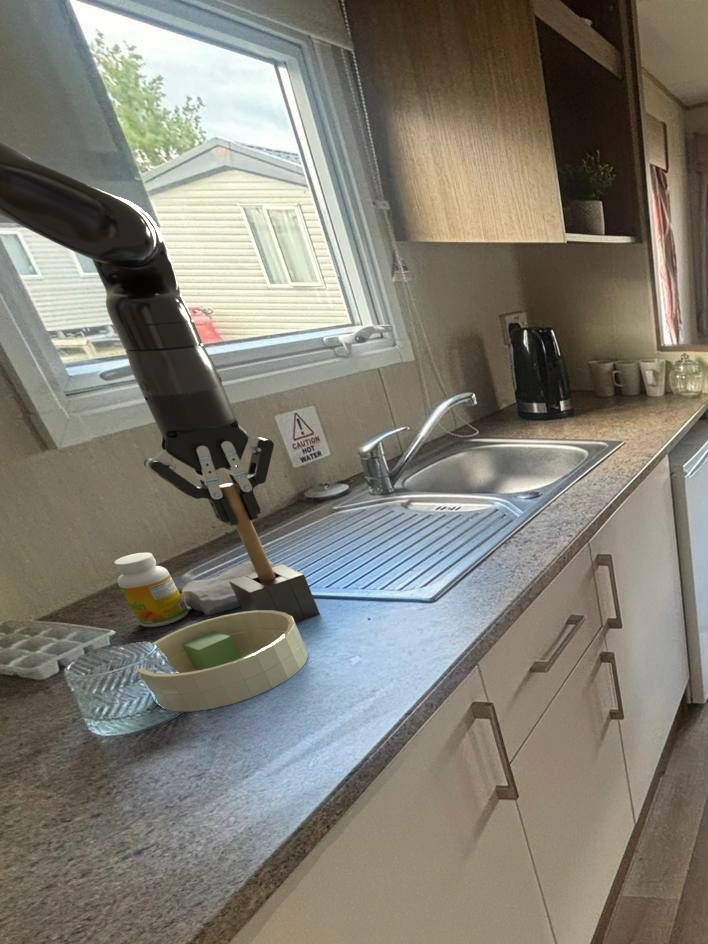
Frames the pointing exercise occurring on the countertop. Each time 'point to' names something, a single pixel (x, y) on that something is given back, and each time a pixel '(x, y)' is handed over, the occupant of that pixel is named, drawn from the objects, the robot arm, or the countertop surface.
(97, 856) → the countertop surface
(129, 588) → the supplement bottle
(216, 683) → the bowl
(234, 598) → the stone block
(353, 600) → the countertop surface
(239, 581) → the holder
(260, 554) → the stirrer
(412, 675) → the countertop surface
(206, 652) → the sage block
